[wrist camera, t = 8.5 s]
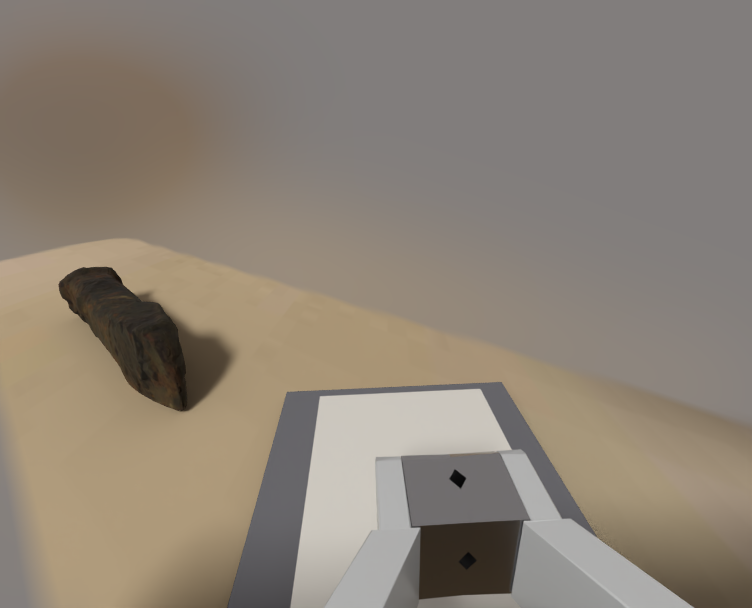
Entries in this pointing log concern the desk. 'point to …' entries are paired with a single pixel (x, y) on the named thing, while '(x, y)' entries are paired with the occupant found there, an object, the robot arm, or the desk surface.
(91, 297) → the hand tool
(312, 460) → the tile
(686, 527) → the desk surface
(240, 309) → the desk surface
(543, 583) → the robot arm
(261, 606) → the mat
